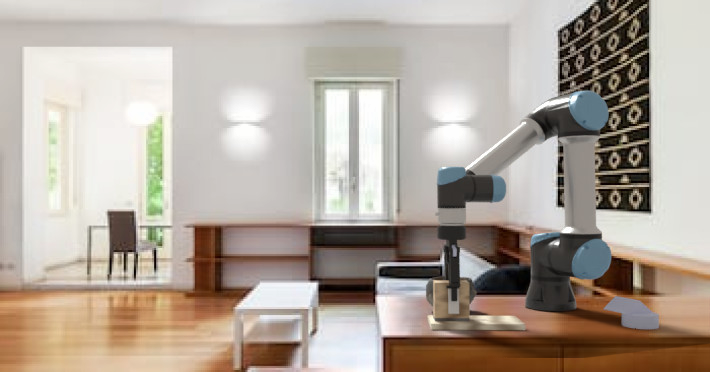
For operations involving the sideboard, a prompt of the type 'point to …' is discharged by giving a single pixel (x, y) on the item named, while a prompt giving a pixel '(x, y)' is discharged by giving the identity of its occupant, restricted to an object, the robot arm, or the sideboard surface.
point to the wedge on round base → (634, 313)
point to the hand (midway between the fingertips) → (451, 310)
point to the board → (479, 323)
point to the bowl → (430, 283)
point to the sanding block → (442, 302)
